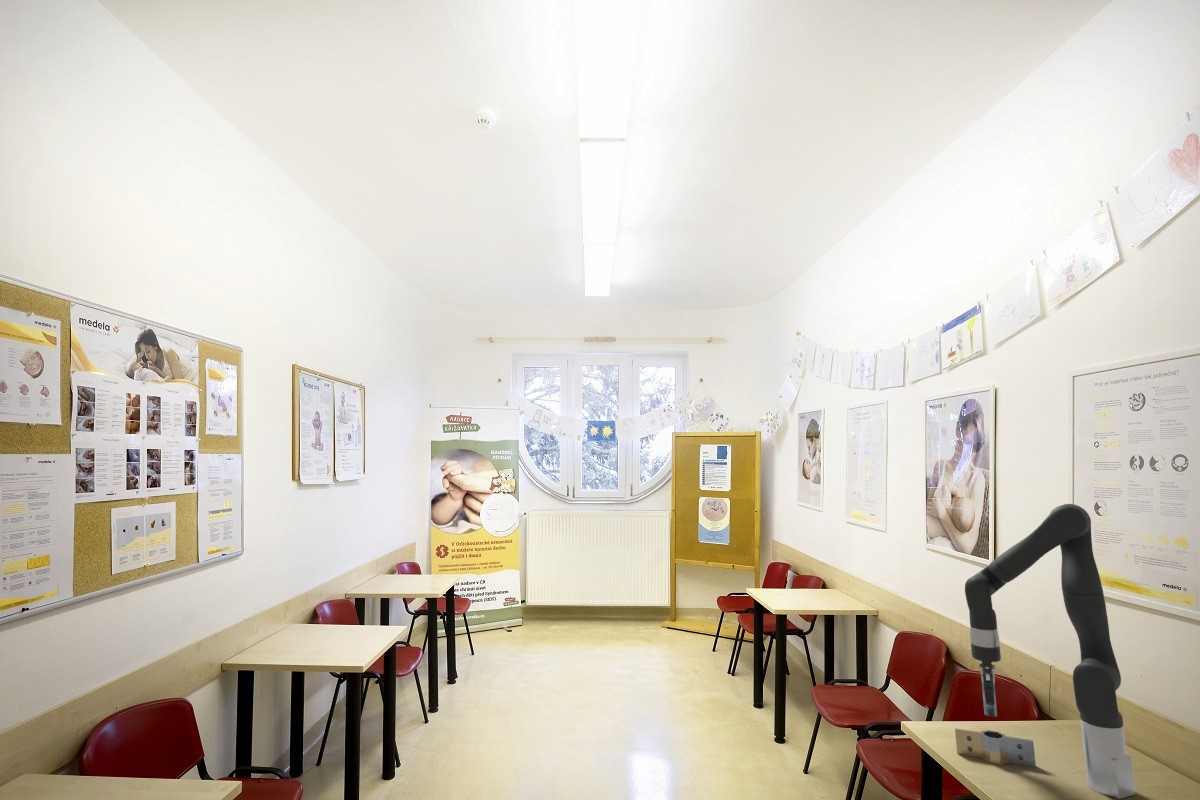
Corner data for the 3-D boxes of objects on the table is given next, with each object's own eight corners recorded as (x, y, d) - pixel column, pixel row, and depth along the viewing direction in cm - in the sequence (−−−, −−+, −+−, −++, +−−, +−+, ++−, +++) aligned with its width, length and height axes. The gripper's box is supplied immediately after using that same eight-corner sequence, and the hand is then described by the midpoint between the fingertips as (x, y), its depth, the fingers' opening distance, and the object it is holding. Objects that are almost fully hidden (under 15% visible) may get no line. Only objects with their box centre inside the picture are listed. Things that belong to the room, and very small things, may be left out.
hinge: (1034, 761, 186) (1032, 736, 187) (1036, 771, 180) (1034, 745, 181) (957, 748, 196) (955, 725, 196) (957, 757, 190) (954, 732, 191)
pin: (999, 715, 188) (996, 674, 190) (991, 717, 187) (987, 675, 189) (990, 712, 191) (986, 670, 193) (981, 713, 190) (978, 672, 192)
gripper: (1000, 650, 183) (1006, 712, 182) (998, 638, 196) (1003, 696, 194) (970, 647, 187) (975, 708, 186) (970, 635, 199) (975, 692, 198)
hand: (990, 701), depth 190 cm, fingers closed on pin, 3 cm apart
